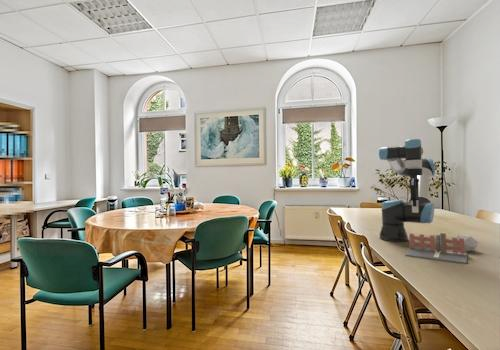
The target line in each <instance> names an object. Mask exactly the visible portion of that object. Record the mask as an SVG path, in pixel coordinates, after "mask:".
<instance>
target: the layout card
mask: <svg viewBox="0 0 500 350" xmlns="http://www.w3.org/2000/svg"><path fill="white" fill-rule="evenodd" d="M424 248H425V249H420V246H414V248H410V247H409V249H408V250H407V252H406V253H405V254H404V256H405V257H412V258H419V259H426V260H434V261H439V260H440V261H442V262H447V261H448V262H447V263H454V262H455V263H456V264H460V265H461V264H464V265H467V264H468V263H467V262H468V261H467V260H468V252H465V254H461V253H460V251H458V253H453V250H449V249H446V253H444V252H441V248H440V251H436V247H435V250H430V247H424Z"/></svg>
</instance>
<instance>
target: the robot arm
mask: <svg viewBox="0 0 500 350" xmlns="http://www.w3.org/2000/svg"><path fill="white" fill-rule="evenodd" d="M423 153H424V149H423V147H422V140H421V139H420V138H410V139H406V140H405V141H404V145H394V146H393V145H392V146H383V147H380V148H379V151H378V157H379V160H381V161H387V162H388V164H389V166H390V169H391V170H392V172H394V173H395V174H397V175H400V176H403V177H410V178H409V189H410V199H409V200H408V202H407V201H406V202H405V201H404V200H403V199H393V200H386V201H383V202H382V203H381V221H382V223H381V224H382V226H381V229H380V232H379V239H381V240H384V241H390V242H407V241H408V240H409V236H408V234H407V231H406V228H405V223H413V224H415V223H416V224H431V223H433V221H434V217H435V204H434V202H433V203H432V202H431V199H429V198H430V197H429V196H430V195H429V193H430V179H432V177H434V176H435V175H436V170H435V163H434V162H435V161H434V160H433V158H422V156H423Z"/></svg>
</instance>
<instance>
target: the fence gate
mask: <svg viewBox="0 0 500 350" xmlns="http://www.w3.org/2000/svg"><path fill="white" fill-rule="evenodd" d="M408 240H409V249H410V248H414V246H419V247H420V249H425V248H424V247H428V248H430V250H435V248H436V251H440V249H441V237H440V234H435V235H429V237H426V236H425V234H422V233H421V234H419V236H417V235H416V236H415V234H414V233H411V232H410V233H409V236H408ZM417 241H418V242H417ZM427 242H429V243H427Z"/></svg>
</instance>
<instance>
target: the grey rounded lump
mask: <svg viewBox="0 0 500 350" xmlns="http://www.w3.org/2000/svg"><path fill="white" fill-rule="evenodd" d="M456 238H457V240H459V238H464V248H465V252H467V253H468V252H471V251H472V252H475V251H476V248H477V246H478V245H479V241H477V240H476V239H475V238H474V237H473V236H472V235H469V234H458V236H457V237H456ZM457 246H458V247H460V246H459V244H457ZM472 252H471V253H472Z"/></svg>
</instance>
